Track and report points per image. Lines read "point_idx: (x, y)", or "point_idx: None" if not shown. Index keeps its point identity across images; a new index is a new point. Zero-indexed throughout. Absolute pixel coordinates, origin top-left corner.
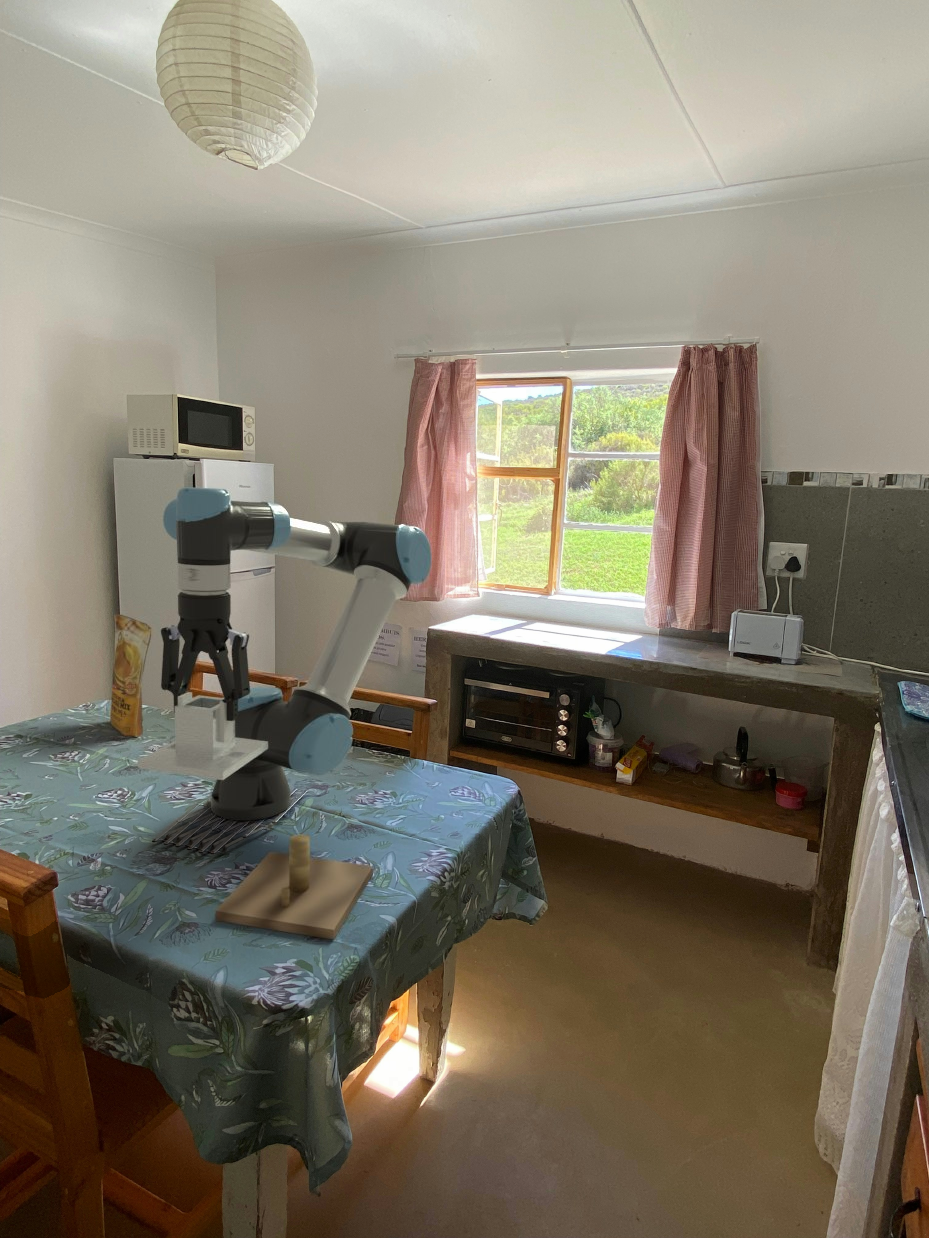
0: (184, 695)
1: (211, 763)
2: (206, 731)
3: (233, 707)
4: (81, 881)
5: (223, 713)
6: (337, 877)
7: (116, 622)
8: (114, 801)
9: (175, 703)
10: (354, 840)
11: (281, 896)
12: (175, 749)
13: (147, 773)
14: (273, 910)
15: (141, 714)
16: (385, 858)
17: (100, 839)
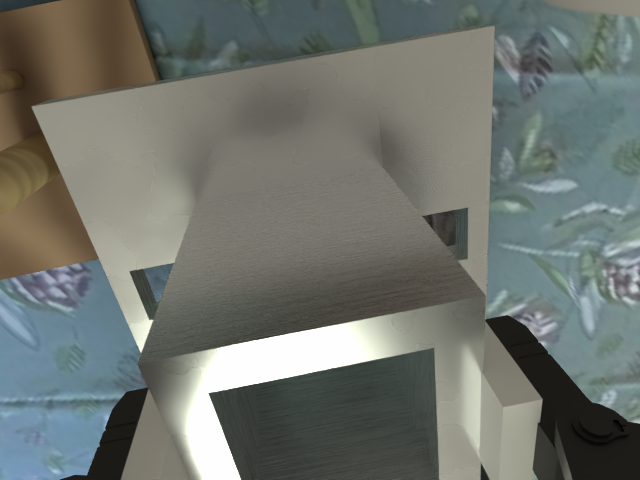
0: (509, 437)
1: (170, 167)
2: (216, 259)
3: (90, 476)
4: None
5: (149, 405)
6: (13, 217)
7: None
8: (622, 258)
9: (541, 363)
10: (125, 348)
11: (5, 74)
12: (425, 214)
13: (625, 358)
14: (18, 50)
15: None
16: (27, 326)
17: (561, 137)
